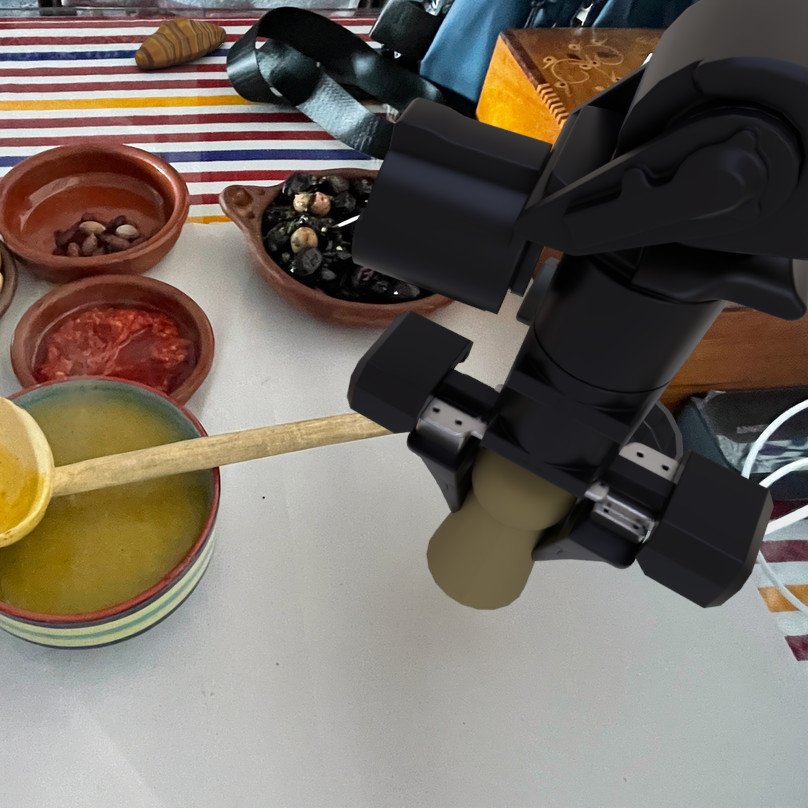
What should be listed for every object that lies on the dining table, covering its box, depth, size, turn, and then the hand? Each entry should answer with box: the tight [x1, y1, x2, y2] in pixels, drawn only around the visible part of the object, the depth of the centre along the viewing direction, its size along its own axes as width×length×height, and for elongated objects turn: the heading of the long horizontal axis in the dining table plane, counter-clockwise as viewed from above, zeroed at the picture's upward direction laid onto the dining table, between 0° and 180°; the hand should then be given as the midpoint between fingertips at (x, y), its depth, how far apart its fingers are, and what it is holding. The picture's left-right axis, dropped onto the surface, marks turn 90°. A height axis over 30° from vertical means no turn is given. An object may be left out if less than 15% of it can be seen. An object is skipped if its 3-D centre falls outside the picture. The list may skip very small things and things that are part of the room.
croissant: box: [134, 17, 228, 70], centre depth 96 cm, size 14×7×5 cm, turn 129°
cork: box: [425, 446, 578, 611], centre depth 41 cm, size 6×6×11 cm
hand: (495, 530), depth 42 cm, fingers closed on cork, 4 cm apart
